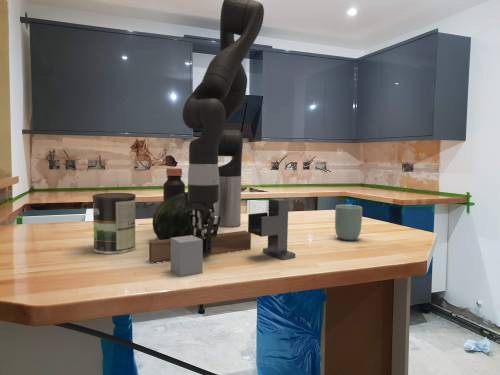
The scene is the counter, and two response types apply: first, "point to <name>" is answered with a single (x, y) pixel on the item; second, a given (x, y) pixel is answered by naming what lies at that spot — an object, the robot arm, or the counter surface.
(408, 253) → the counter surface
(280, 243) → the bracket
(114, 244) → the coffee can
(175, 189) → the bottle
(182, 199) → the squash
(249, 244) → the rail
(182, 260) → the rest block
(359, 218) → the cup
